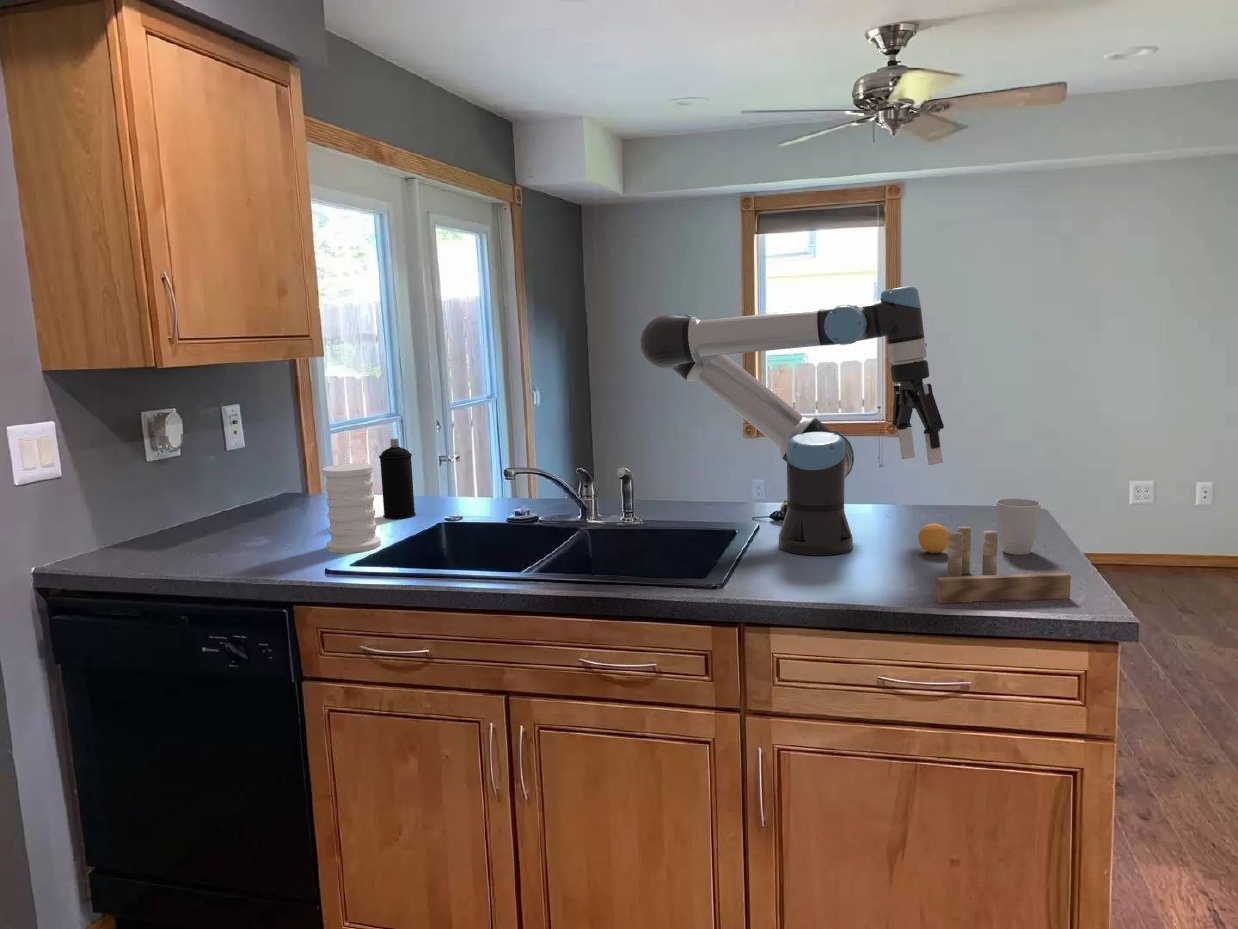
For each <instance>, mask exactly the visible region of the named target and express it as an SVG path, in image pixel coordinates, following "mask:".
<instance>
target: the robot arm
mask: <svg viewBox="0 0 1238 929" xmlns="http://www.w3.org/2000/svg"><path fill="white" fill-rule="evenodd" d="M919 295H920V294H919V291H918V289H917V288H916V287H915V286H912V285H911V286H910V285H909V286H902V287H896V288H892V289H886V290H883V291H882V292H881V293H880V300H877V301H874V302H869V303H868V302H867V303H862V304H856V305H851V304H843V305H837V306H829V307H823V308H822V307H821V308H811V309H802V310H801V309H800V310H793V311H791V310H790V311H780V312H772V313H771V312H770V313H763V314H755V315H754V314H753V315H743V316H735V317H734V316H733V317H725V318H716V319H715V318H714V319H713V318H712V319H705V320H700V319H699V318H698V317H697V316H692V315H689V314H683V313H678V314H674V315H670V314H669V315H667V314H666V315H660V316H657V317H655V318H653V319H651V320H650V321H649V322H648V323H646V325H645V326H644V329H643V330H642V332H641V335H640V340H639V341H640V349H641V352H642V354H643V356H644V358H645V359H646V360H647V361H648V362H649V363H650V364H652V366H655V367H657V368H660V369H671V370H673V371H674V372H675V373H677V374H678V375H679V376H680V377H682V379H684V380H685V381H687V382H698V383H699V384H701V385H702V386H703V387H705V389H707V390H709V392H710V393H712V394H713V395H714V396H716V397H717V398H718V399H719V400H720V401H722V402H723V403H724V404H726V405H727V407H729V408H730V409H731V410H733V411H734V412H735V413H737V414H738V415H739V416H740V418H742V419H744V420H745V421H747V423H749V424H750V425H751V426H752V427H754V428H755V429H756V430H757V431H758V432H760V433H761V434H762V435H763V436H765V437H766V438H767V439H768V440H770V441H771V443H773V444H775V445H776V446H777V447H778V448H779V450H780V451H779V452H780V458H781V459H782V460H783V461H784V462H785V463H786V504H787V505H786V513H785V515H784V519H783V522H782V525H781V528H780V531H779V535H778V547H779V549H780V550H782V551H784V552H787V553H792V554H798V555H805V556H833V555H840V554H844V553H848V552H849V551H852V550H853V545H854V544H853V534H852V532H851V528H850V525H849V522H848V518H847V516H846V512H845V479H846V478H847V477H848V475H849V474H851V471H852V470H853V466H854V462H855V453H854V448H853V446H852V444H851V442H850V440H849V439H848V438H847V437H846V436H845V435H844V434H842V433H840V432H839V431H838V430H834V429H830V428H829V427H828V426H827V425H825V424H824V423H823V422H822V421H820V420H819V419H818V418H817V417H815V416H812V417H804V416H803V415H802V414H800V413H799V412H798V411H797V410H795V409H794V408H793V407H792V406H791V405H789V404H788V403H787V402H786V401H785V400H784V399H782V398H780V397H779V396H778V395H777V394H776V393H774V392H773V391H772V390H771V389H769V388H768V387H767V386H766V385H764V384H763V383H762V382H760V381H759V379H758V378H756V377H754V376H753V375H752V374H750V373H749V372H748V371H747V370H746V369H744V368H743V367H742V366H741V365H740V364H738V363H737V362H736V361H735V360H733V359H732V358H731V357H729V356H728V355H735V354H736V355H737V354H744V353H745V354H746V353H756V352H768V351H777V350H778V351H779V350H788V349H790V350H791V349H799V348H810V347H811V348H813V347H822V346H823V347H824V346H825V347H826V346H833V345H834V346H835V345H841V346H845V345H852V344H854V343H857V342H859V341H866V340H871V339H876V338H877V339H878V338H883V337H886V343H887V344H886V346H887V352H888V354H887V355H888V361H889V362H890V363H891V364H892V365H891V366H890V373H891V374H890V375H891V380H892V382H893V383H895V384H894V385H893V408H892V420H891V422H892V426H893V427H896V429H897V432H898V440H899V441H898V442H899V449H900V455H901V460H907V459H913V458H915V457H916V455H915V447H914V438H913V433H912V432H913V431H912V427H913V426H912V423H911V419H912V413H913V411H914V410H915V411H916V413H917V415H918V417H919V418H920V421H921V424H923V427H924V430H923V434H924V438H925V448H926V455H927V463H928V466H932V465H939V464H943V463H944V462H943V454H942V446H941V439H940V438H941V437H940V431H941V430H944V428H945V425H944V421H943V420H942V417H941V416H942V415H941V413H940V411H939V408H938V405H937V402H936V399H935V397H934V394H933V386H932V384H931V383H925V384H924V381H923V380H924V379H927V378H929V377H930V370H929V363H928V361H927V360H926V359H925V358H926V357H927V349H926V348H927V346H928V344H927V342H926V341H925V330H924V322H923V314H922V307H921V301H920V300H921V299H920V296H919ZM896 383H899V384H896Z"/></svg>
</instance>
